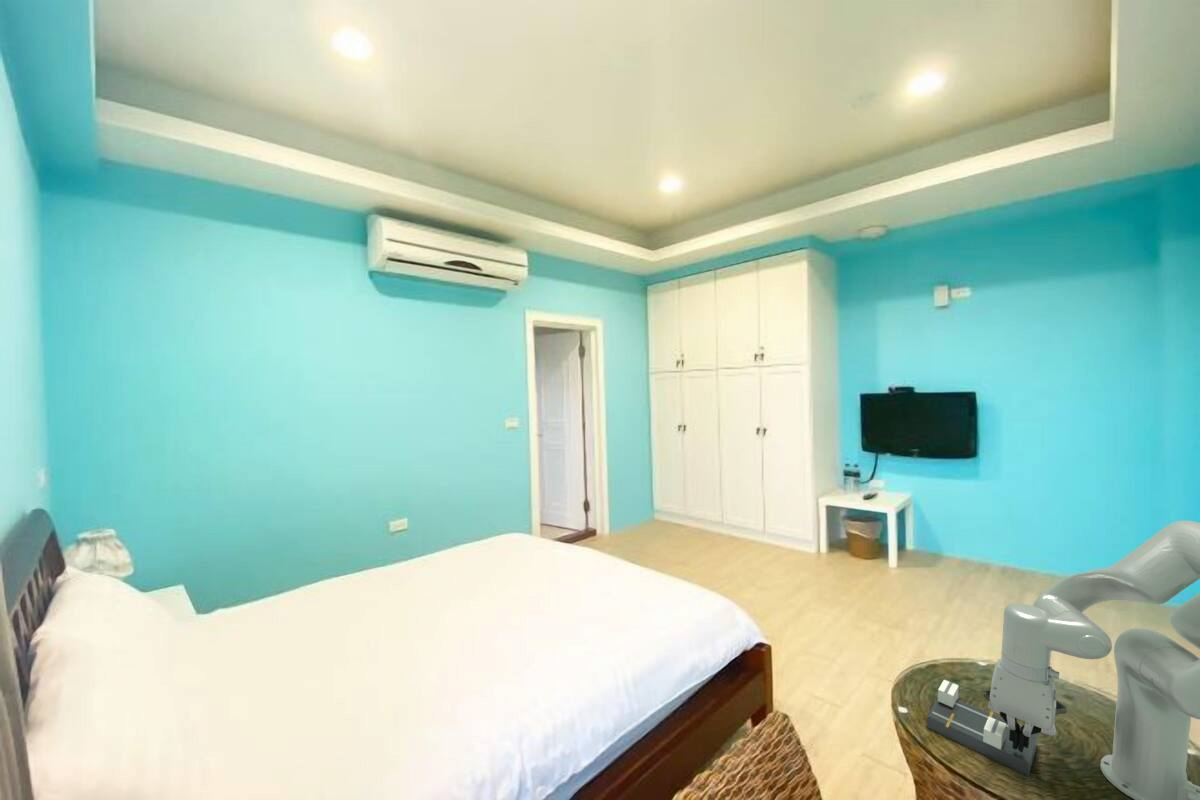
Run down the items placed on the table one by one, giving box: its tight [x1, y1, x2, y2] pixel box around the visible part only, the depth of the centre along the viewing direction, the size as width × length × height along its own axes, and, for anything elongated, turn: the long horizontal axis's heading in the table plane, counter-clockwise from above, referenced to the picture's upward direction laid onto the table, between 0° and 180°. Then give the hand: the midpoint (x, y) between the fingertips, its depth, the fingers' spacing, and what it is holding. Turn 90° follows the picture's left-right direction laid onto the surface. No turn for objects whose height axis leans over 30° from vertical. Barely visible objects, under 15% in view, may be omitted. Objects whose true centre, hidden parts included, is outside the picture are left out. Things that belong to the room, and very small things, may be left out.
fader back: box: [937, 679, 960, 708], centre depth 117 cm, size 3×5×3 cm, turn 132°
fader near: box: [983, 717, 1006, 750], centre depth 105 cm, size 3×5×3 cm, turn 132°
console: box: [926, 697, 1038, 777], centre depth 110 cm, size 18×13×3 cm
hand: (1018, 746), depth 102 cm, fingers closed
